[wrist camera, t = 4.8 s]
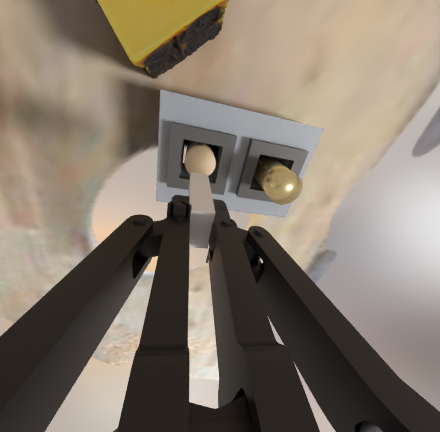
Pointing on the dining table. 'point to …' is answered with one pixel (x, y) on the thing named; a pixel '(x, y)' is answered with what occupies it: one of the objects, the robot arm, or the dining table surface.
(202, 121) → the socket block
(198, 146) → the beech peg
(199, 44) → the candle
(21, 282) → the dining table surface
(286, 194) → the brass peg
